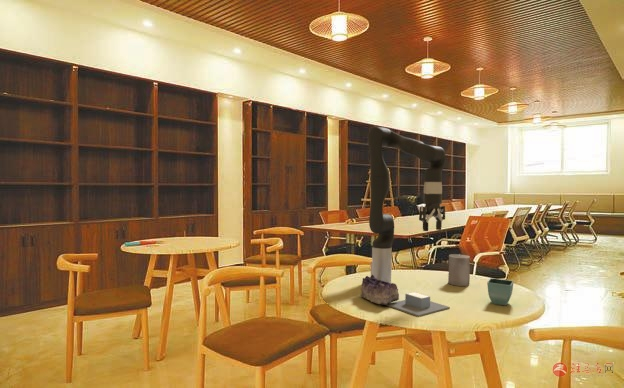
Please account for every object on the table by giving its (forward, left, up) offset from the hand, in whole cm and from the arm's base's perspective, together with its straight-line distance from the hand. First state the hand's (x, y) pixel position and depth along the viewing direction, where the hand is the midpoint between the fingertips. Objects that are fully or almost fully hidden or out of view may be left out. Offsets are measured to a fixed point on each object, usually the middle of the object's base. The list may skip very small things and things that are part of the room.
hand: (432, 230), depth 173 cm
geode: (-7, -26, -28) cm, 38 cm away
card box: (+8, -18, -28) cm, 34 cm away
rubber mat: (+8, -18, -28) cm, 34 cm away
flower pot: (+23, +14, -28) cm, 39 cm away
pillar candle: (-6, +28, -28) cm, 40 cm away
